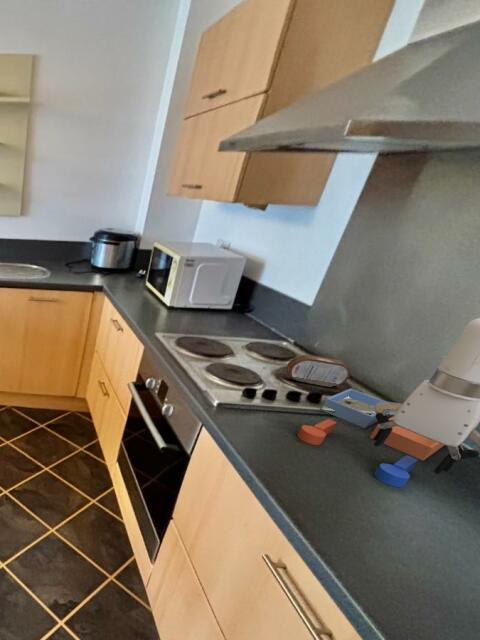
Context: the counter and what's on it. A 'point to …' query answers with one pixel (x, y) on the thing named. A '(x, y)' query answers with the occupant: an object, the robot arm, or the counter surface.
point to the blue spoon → (395, 471)
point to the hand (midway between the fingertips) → (406, 457)
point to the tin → (318, 369)
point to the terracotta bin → (409, 442)
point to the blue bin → (351, 413)
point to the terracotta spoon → (316, 432)
